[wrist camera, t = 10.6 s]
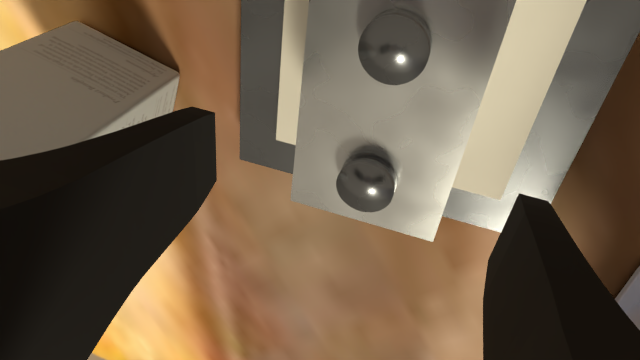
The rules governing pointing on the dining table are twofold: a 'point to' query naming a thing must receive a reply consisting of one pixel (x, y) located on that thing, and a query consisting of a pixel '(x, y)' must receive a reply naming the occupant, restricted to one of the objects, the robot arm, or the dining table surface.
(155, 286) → the dining table surface
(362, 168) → the block
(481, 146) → the stand
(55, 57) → the skincare box
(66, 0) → the dining table surface
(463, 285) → the dining table surface
